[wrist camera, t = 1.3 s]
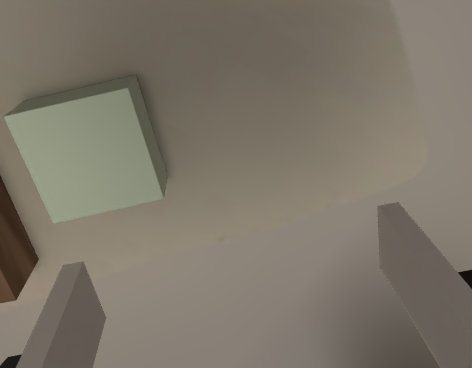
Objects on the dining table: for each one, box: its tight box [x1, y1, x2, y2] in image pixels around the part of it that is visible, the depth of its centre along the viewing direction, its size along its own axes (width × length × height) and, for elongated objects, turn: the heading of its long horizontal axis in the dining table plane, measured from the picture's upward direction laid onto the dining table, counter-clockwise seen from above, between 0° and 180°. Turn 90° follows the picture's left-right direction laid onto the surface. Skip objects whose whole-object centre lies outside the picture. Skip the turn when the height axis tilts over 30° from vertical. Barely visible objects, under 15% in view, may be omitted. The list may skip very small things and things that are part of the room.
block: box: [4, 75, 167, 224], centre depth 31 cm, size 8×8×4 cm
